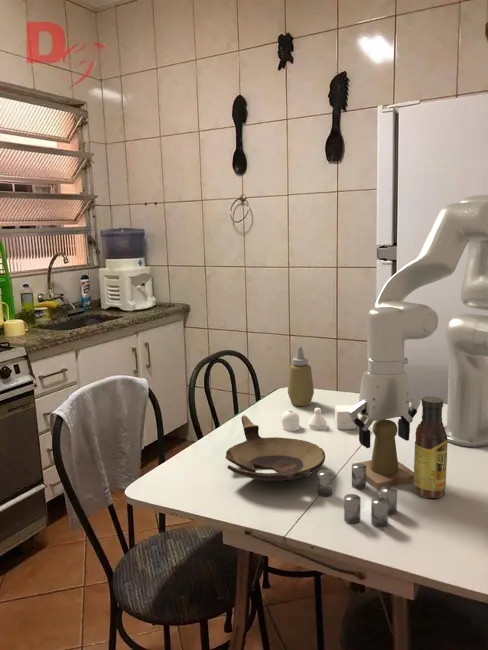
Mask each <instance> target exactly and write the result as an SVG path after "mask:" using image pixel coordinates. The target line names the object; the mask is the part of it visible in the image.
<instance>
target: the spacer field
mask: <svg viewBox="0 0 488 650" xmlns="http://www.w3.org/2000/svg"><path fill="white" fill-rule="evenodd" d="M352 464H353V465H352ZM352 464H351V488H353V489H356V490H364V489H367V482H366V465H365V464H362V463H359V462H355V464H354V463H352ZM317 495H318V496H320V497H323V498H328V497H332V495H333V472H332V471H331V470H328V469H321V470H318V471H317ZM361 499H362V498H361V496H359V495H358V494H355V493H348V494H346V495H344V497H343V500H344V501H343V502H344V503H343V506H344V507H343V515H344V517H343V519H344V522H345V523H346V524H349V525H358V524H360V523H361V509H362V508H361V504H362V503H361ZM370 507H371V510H370V511H371V512H370V513H371V515H370V516H371V518H370V519H371V520H370V522H371V526H373V527H374V528H377V529H383V528H387V527H388V525H389V516H395V515H397V514H398V488H397V487H396V486H393V487H392V486H384V487H382V488H381V489H380V496H379V497H377V496H376V497H373V498H371V506H370Z"/></svg>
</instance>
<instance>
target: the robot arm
mask: <svg viewBox="0 0 488 650" xmlns="http://www.w3.org/2000/svg"><path fill="white" fill-rule="evenodd" d="M422 244H423V245H422V246H421V248H420V250H419V253H418V254H417V256H416V257H415V258H414V259H413V260H411V261H409V262H408V263H407V264H406V265H404V266H402V267H401V269H399V270H398V271H397V272H396V273H395V274H393V275H392V276H391V277H390V278H389V279H388V280H387V281H386V282H385V284H384V286H383V287H382V289H381V290H380V293H379V295H378V297H377V300H376V302H375V304H374V307H373V308H371V309H370V310H369V311H368V313H367V327H366V328H367V329H366V330H367V332H366V333H367V337H366V339H367V343H366V344H367V348H366V349H367V350H366V351H367V352H366V353H367V355H366V358H367V359H366V360H367V361H366V365H367V367H366V371H364V372H363V374H362V378H361V383H360V389H359V397H358V398H359V400H358V403H357V404H355V405H353V406H354V407H352V408H351V409H350V410H348V414H349V416H350V418H351V419H352V422H353V423H355V424H356V427H358V441H359V443H360V445H361V446H363V447H364V448H366V449H371V429H369V428H370V427H371V426H372V424H373V423H374V422H376V421H378V420H384V419H386V420H391V419H395V418H399V419H398V420H397V421H398V422H397V436H398V437H399V438H400V439H402V440H404V441H406V442H407V441H410V432H411V423H413V418H415V415H417V413H418V410H419V407H420V404H422V400H420V399H418V398H415V397H414V396H411V395H410V389H409V381H408V375H407V372H406V370H405V365H407V364H408V363H409V359H408V358H407V357H405V341H407V340H409V341H410V340H423V339H426V338H429V337H431V335H433V334H434V333H435V332H436V330H437V329H438V326H439V316H438V314H437V311H436V310H435V308H433V307H431V306H430V305H427V304H422V303H416V302H415V303H414V302H409V301H405V299H406V298H408V296H409V295H410V294H412V293H413V292H414V291H416V290H417V289H419V288H422V287H424V286H427V285H429V284H432V283H436V282H438V281H441V280H443V279H446V278H448V277H450V276H452V275H453V274H454V272H455V271H456V268H457V267H458V264H459V262H460V259H461V257H462V255H463V254H464V251H465V249H466V247H467V250H468V252H467V259H466V265H465V269H464V274H463V279H462V284H461V290H460V302H462V304H463V305H464V306H466V307H468V308H469V309H470V308H471V309H473V310H481V311H482V310H483V311H488V194H480V195H479V194H478V195H477V194H475V195H471V196H467V197H464V198H462V199H461V200H459V202H453V203H449V204H446V205H444V207H442V208H441V209H440V210H439V212H438V214H437V216H436V217H435V220H434V222H433V224H432V226H431V227H430V230H429V232H428V234H427V236H426V238H425V240H424V242H423V243H422ZM445 339H446V345H447V352H448V379H447V380H448V382H447V383H448V384H447V387H448V388H447V410H446V411H447V413H446V415H447V416H446V417H447V418H446V424H445V425H443V426H444V429H445V432H446V435H447V438H448V442H449V443H451V444H454V445H457V446H461V447H462V446H463V447H474V448H475V447H486V446H488V360H487V359H486V357H488V315H484V314H483V315H482V314H475V313H461V314H456V315H454V316H453V317H452V318H450V319H449V320H448V322H447V324H446V327H445ZM359 414H360V415H361V416H360V418H359V416H358V415H359Z"/></svg>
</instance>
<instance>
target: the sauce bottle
mask: <svg viewBox="0 0 488 650" xmlns="http://www.w3.org/2000/svg"><path fill="white" fill-rule="evenodd" d="M421 406H422V409H421V411H422V413H421V414H422V415H421V421H420V422H419V423H418V424H417V427H416V429H415V441H414V458H413V472H414V482H413V484H414V485H413V488H414V491H415V493H416V494H417V495H418V496H421V497H423V498H427V499H437V498H441V497H443V496H444V495H445V493H446V487H447V469H448V468H447V466H448V465H447V463H448V461H447V460H448V444H449V443H448V438H447V435H446V432H445V429H444V426H445V425H444V424H443V417H442V416H443V407H444V400H443V399H442V398H441V397H438V396H424V397H422V399H421Z"/></svg>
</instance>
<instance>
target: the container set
mask: <svg viewBox="0 0 488 650" xmlns="http://www.w3.org/2000/svg"><path fill="white" fill-rule="evenodd" d="M354 406H355V405H350V404H344V405H335V406H334V424H335V427H336V429H337V430H355V429H357V425H356V424H355V423H353V422H352V419H351V418H350V416H349V414H348V410H350V409H351V408H352V407H354ZM313 411H314V413H313V415H312V416H311V418H310V419H309V420H308V428H309V429H310V430H313V431H324V430H326V429H327V428H328V421H327V420H326V419H325V417H324V416H323V415H322V410H321V408H320V407H315V408H314V409H313ZM280 421H281V423H280V424H281V425H280V428H281V429H282V430H283V431H285V432H293V431H297V430H300V428H301V425H300V416H299V414H298V413H297V412H296V411H294V410H293V409H291V408H289V409H288V410H286V411H284V413H282V415H281V418H280Z"/></svg>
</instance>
